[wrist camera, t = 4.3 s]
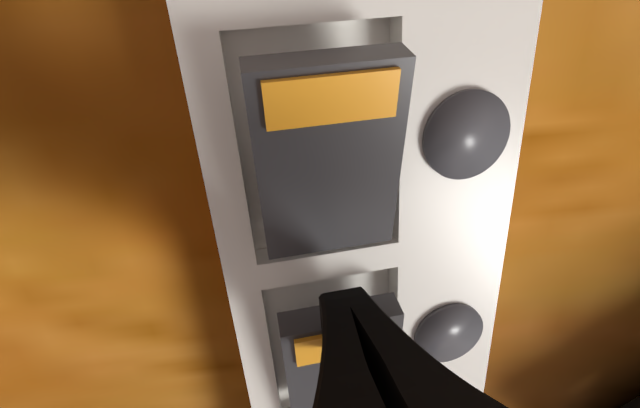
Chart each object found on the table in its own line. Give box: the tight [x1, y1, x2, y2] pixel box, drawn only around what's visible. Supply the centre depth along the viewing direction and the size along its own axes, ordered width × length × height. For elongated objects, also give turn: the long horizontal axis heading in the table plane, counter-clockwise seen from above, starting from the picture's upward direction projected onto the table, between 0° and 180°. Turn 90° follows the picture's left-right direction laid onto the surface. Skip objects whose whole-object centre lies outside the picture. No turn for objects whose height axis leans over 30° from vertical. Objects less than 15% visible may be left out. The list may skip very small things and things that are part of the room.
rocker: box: [239, 42, 416, 260], centre depth 11 cm, size 6×4×1 cm, turn 4°
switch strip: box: [166, 0, 543, 408], centre depth 17 cm, size 27×10×3 cm, turn 4°
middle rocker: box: [277, 292, 404, 408], centre depth 15 cm, size 6×4×1 cm, turn 4°
